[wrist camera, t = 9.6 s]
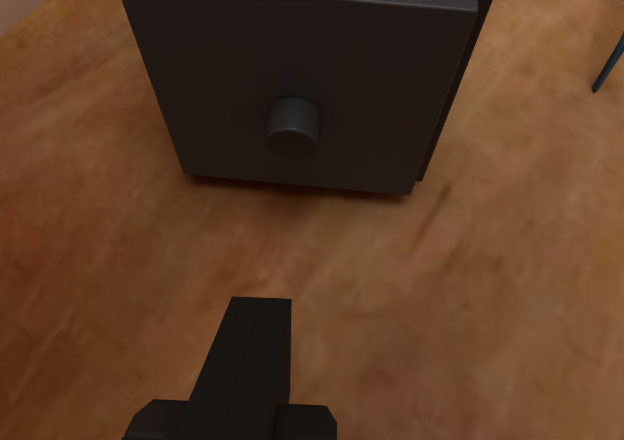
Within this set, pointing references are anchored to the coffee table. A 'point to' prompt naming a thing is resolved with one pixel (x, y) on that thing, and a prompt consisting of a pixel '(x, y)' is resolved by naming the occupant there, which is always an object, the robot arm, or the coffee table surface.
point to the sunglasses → (610, 63)
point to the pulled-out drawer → (303, 85)
